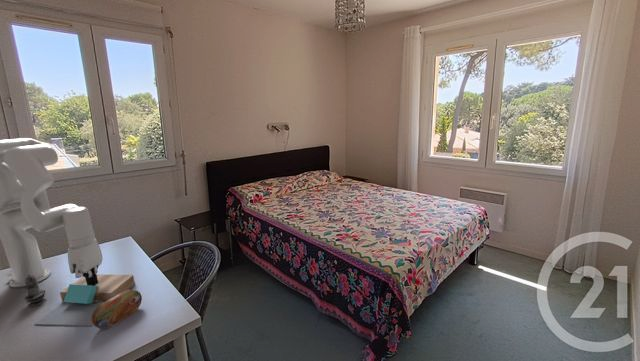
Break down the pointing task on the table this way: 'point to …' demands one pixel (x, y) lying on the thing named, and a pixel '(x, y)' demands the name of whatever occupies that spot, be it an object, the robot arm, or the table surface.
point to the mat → (70, 315)
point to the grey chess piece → (34, 292)
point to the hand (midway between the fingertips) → (92, 284)
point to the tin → (116, 309)
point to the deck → (106, 286)
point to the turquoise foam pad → (80, 293)
